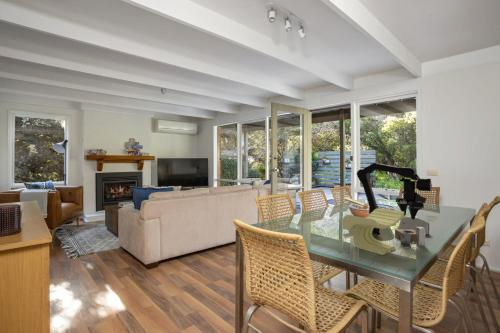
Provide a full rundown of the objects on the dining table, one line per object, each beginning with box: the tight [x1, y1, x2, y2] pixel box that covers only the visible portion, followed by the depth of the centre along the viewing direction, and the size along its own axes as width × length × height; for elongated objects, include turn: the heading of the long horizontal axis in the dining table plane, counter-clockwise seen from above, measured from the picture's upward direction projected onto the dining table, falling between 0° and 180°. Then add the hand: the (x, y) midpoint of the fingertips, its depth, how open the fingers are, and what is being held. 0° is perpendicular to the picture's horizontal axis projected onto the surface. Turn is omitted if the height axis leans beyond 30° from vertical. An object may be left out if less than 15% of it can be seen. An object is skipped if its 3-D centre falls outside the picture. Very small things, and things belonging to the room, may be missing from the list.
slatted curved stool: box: [341, 207, 405, 256], centre depth 135 cm, size 30×16×18 cm, turn 127°
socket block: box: [394, 228, 416, 243], centre depth 150 cm, size 10×10×4 cm
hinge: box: [397, 216, 430, 237], centre depth 164 cm, size 17×5×10 cm, turn 35°
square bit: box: [415, 227, 426, 247], centre depth 140 cm, size 3×3×9 cm
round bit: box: [399, 232, 412, 247], centre depth 139 cm, size 5×5×6 cm
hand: (408, 217), depth 150 cm, fingers open, 9 cm apart
